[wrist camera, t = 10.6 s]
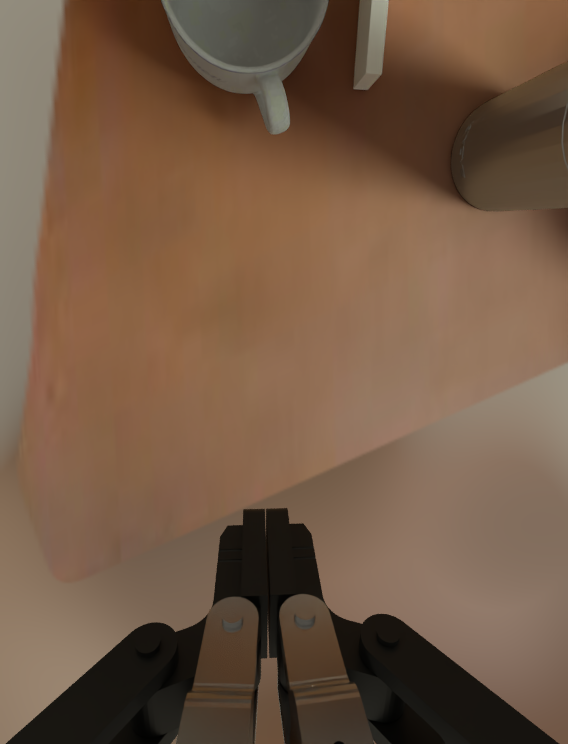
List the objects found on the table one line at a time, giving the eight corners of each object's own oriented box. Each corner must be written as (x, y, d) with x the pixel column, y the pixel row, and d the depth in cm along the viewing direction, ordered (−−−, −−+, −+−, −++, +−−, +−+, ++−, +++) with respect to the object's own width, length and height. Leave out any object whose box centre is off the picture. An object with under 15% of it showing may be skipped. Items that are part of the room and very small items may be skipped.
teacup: (162, -57, 31) (136, -146, 24) (308, -67, 32) (328, -156, 24) (193, 154, 36) (178, 135, 28) (320, 142, 36) (339, 122, 29)
